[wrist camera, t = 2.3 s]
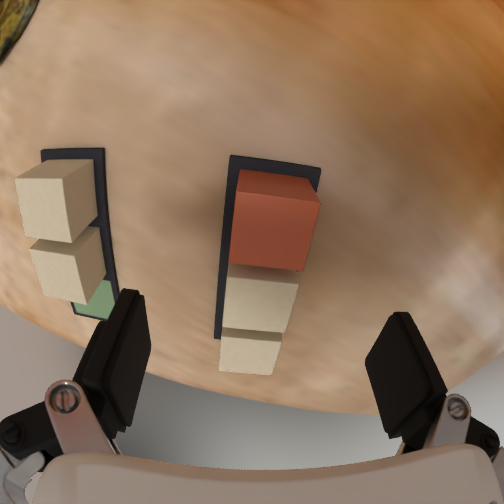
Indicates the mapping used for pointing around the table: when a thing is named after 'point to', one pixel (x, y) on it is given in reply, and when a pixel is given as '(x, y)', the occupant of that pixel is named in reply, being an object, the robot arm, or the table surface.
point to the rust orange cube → (273, 220)
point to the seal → (13, 20)
